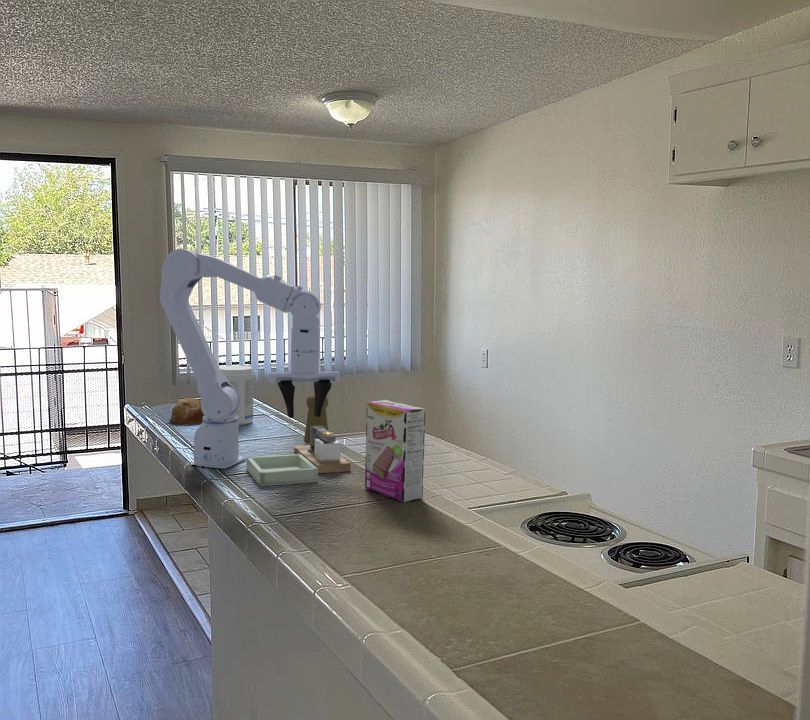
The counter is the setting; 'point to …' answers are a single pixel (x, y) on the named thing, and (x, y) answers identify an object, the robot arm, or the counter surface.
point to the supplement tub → (241, 390)
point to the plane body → (326, 466)
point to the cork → (313, 419)
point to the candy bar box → (395, 450)
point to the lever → (320, 435)
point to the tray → (281, 469)
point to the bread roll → (187, 411)
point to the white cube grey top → (327, 451)
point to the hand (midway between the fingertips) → (304, 416)
